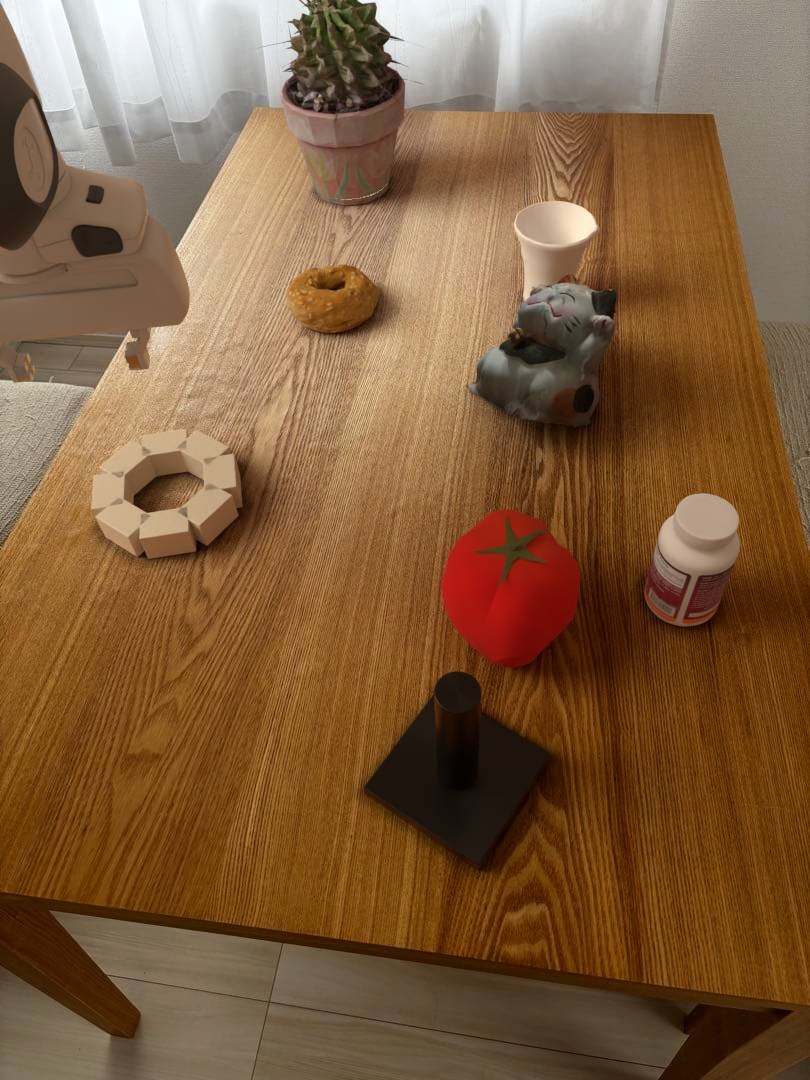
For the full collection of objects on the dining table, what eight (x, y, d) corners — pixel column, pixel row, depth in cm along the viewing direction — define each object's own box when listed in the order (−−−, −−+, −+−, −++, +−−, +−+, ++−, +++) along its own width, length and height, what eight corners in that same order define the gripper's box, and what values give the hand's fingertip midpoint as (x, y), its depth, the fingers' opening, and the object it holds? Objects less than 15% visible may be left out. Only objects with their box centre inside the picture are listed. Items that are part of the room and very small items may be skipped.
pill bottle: (717, 575, 75) (751, 491, 67) (716, 635, 72) (752, 553, 63) (644, 565, 76) (668, 480, 68) (640, 622, 73) (664, 541, 64)
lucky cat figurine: (449, 377, 93) (486, 246, 87) (543, 390, 98) (585, 266, 92) (510, 434, 81) (558, 287, 75) (614, 446, 86) (667, 308, 80)
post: (478, 871, 61) (483, 797, 50) (364, 793, 65) (347, 711, 54) (548, 759, 66) (566, 672, 55) (439, 694, 69) (436, 600, 59)
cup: (578, 329, 97) (589, 250, 89) (499, 313, 100) (503, 234, 92) (598, 284, 102) (609, 205, 94) (522, 269, 105) (527, 192, 97)
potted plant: (394, 237, 110) (381, 24, 91) (262, 207, 116) (224, 0, 96) (450, 169, 120) (450, -37, 100) (327, 144, 126) (303, -55, 106)
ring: (172, 579, 78) (163, 559, 75) (73, 517, 83) (61, 496, 81) (269, 486, 84) (264, 465, 82) (171, 433, 90) (164, 412, 87)
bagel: (395, 319, 100) (393, 283, 96) (307, 349, 97) (301, 314, 93) (360, 274, 105) (357, 239, 102) (276, 302, 103) (269, 267, 99)
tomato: (444, 689, 70) (443, 619, 62) (439, 563, 78) (438, 487, 70) (584, 686, 69) (600, 615, 61) (565, 559, 77) (578, 482, 69)
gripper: (-148, 258, 58) (-53, 410, 69) (157, 228, 59) (203, 383, 70) (-122, 208, 62) (-36, 359, 73) (164, 180, 63) (206, 334, 74)
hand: (83, 371), depth 71 cm, fingers open, 8 cm apart
